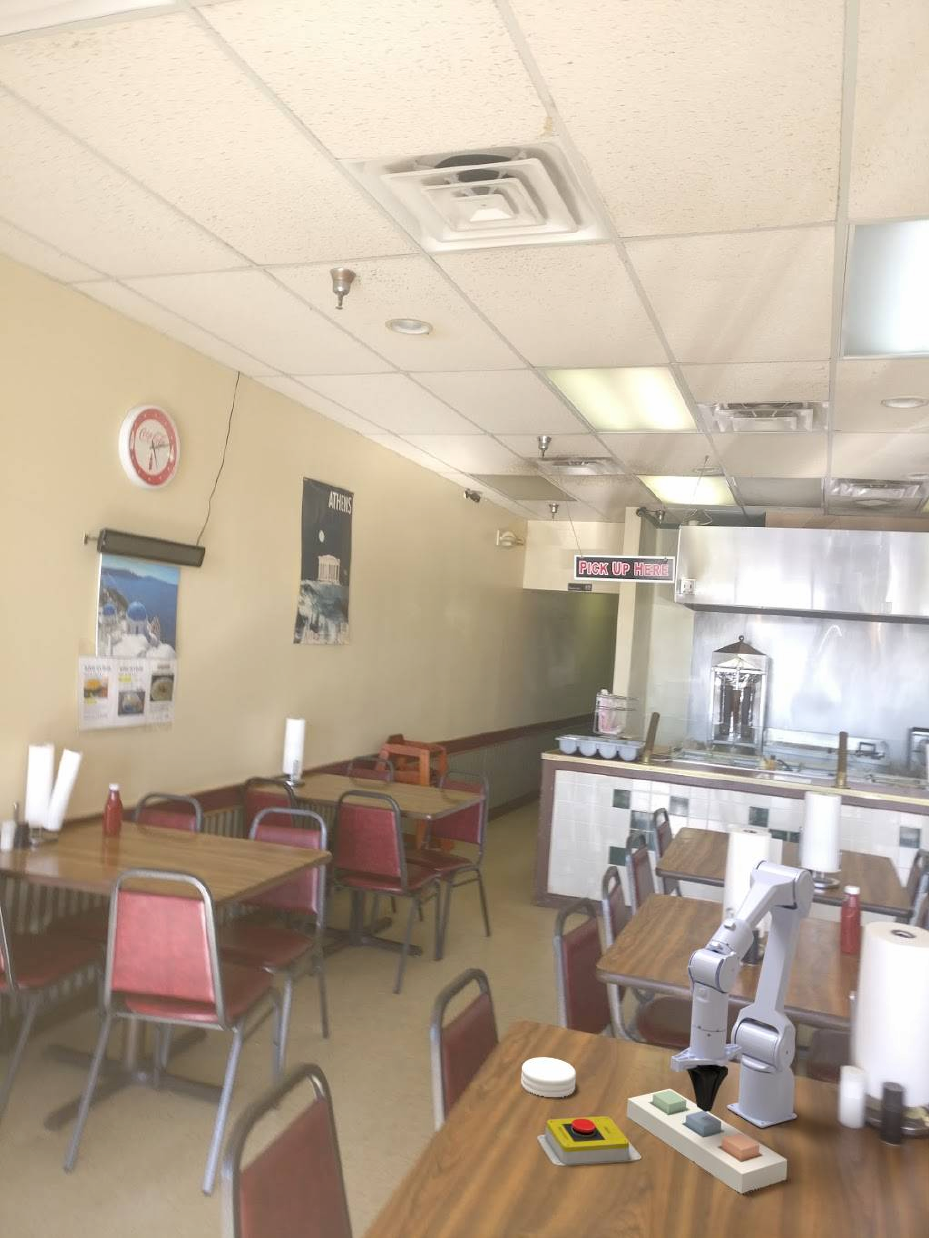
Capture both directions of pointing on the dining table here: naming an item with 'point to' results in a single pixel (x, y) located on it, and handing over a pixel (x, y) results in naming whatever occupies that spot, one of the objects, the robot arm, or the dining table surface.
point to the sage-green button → (669, 1102)
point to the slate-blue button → (703, 1124)
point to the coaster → (548, 1077)
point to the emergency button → (586, 1142)
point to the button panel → (708, 1146)
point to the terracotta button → (740, 1147)
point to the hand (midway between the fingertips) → (704, 1108)
